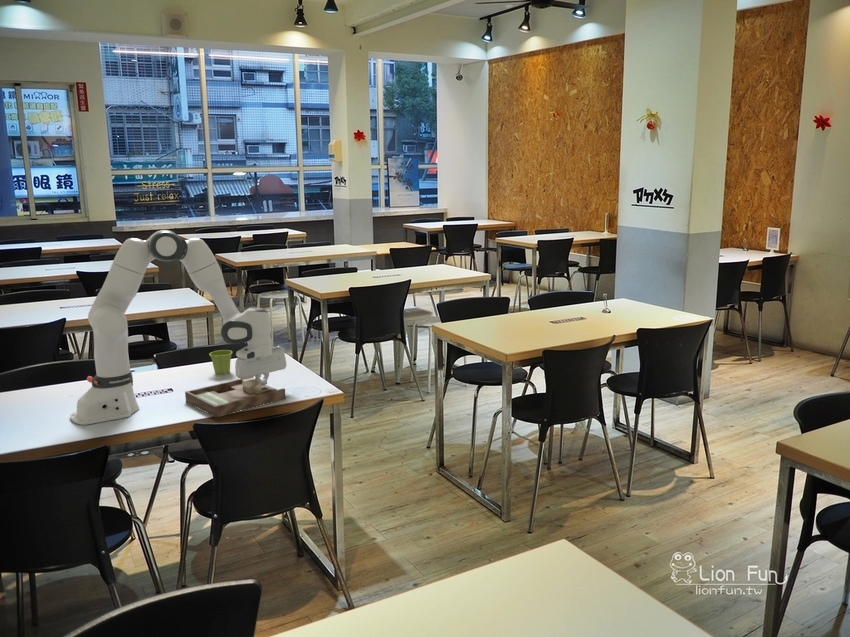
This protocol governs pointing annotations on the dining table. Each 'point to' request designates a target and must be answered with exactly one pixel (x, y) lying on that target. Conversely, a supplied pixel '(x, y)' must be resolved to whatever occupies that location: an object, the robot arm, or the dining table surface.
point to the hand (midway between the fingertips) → (262, 384)
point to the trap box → (231, 397)
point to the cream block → (251, 385)
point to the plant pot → (221, 361)
